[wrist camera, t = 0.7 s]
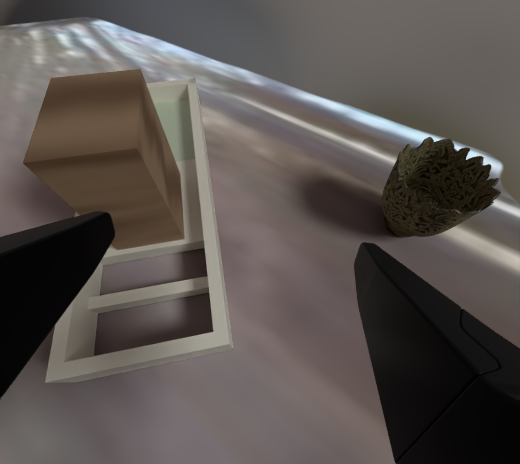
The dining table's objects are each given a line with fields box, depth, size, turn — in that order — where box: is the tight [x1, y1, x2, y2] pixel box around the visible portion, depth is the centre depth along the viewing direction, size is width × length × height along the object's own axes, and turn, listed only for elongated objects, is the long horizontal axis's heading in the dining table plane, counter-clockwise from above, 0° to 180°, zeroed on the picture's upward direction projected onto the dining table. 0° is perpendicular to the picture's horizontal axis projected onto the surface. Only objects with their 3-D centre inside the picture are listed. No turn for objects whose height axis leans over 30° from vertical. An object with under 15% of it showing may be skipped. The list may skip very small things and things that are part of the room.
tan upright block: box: [23, 69, 185, 250], centre depth 21 cm, size 8×6×11 cm
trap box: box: [45, 78, 234, 383], centre depth 27 cm, size 32×12×4 cm, turn 11°
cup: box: [382, 137, 501, 237], centre depth 24 cm, size 8×7×8 cm
